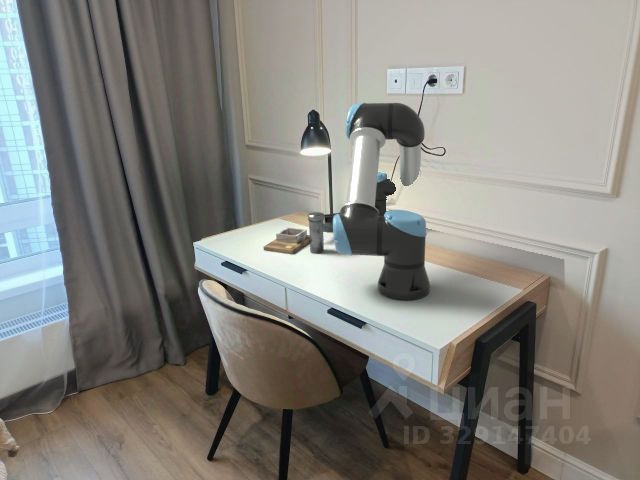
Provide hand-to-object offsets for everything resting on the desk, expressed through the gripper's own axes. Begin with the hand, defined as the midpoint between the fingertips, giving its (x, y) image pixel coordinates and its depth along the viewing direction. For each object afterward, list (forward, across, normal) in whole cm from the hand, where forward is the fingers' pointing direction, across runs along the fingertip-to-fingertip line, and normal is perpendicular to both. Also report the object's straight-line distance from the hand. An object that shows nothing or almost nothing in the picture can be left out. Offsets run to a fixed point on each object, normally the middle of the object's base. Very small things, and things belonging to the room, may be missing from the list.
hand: (324, 227), depth 176 cm
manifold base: (+6, +13, -8) cm, 16 cm away
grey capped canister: (+5, 0, -8) cm, 9 cm away
